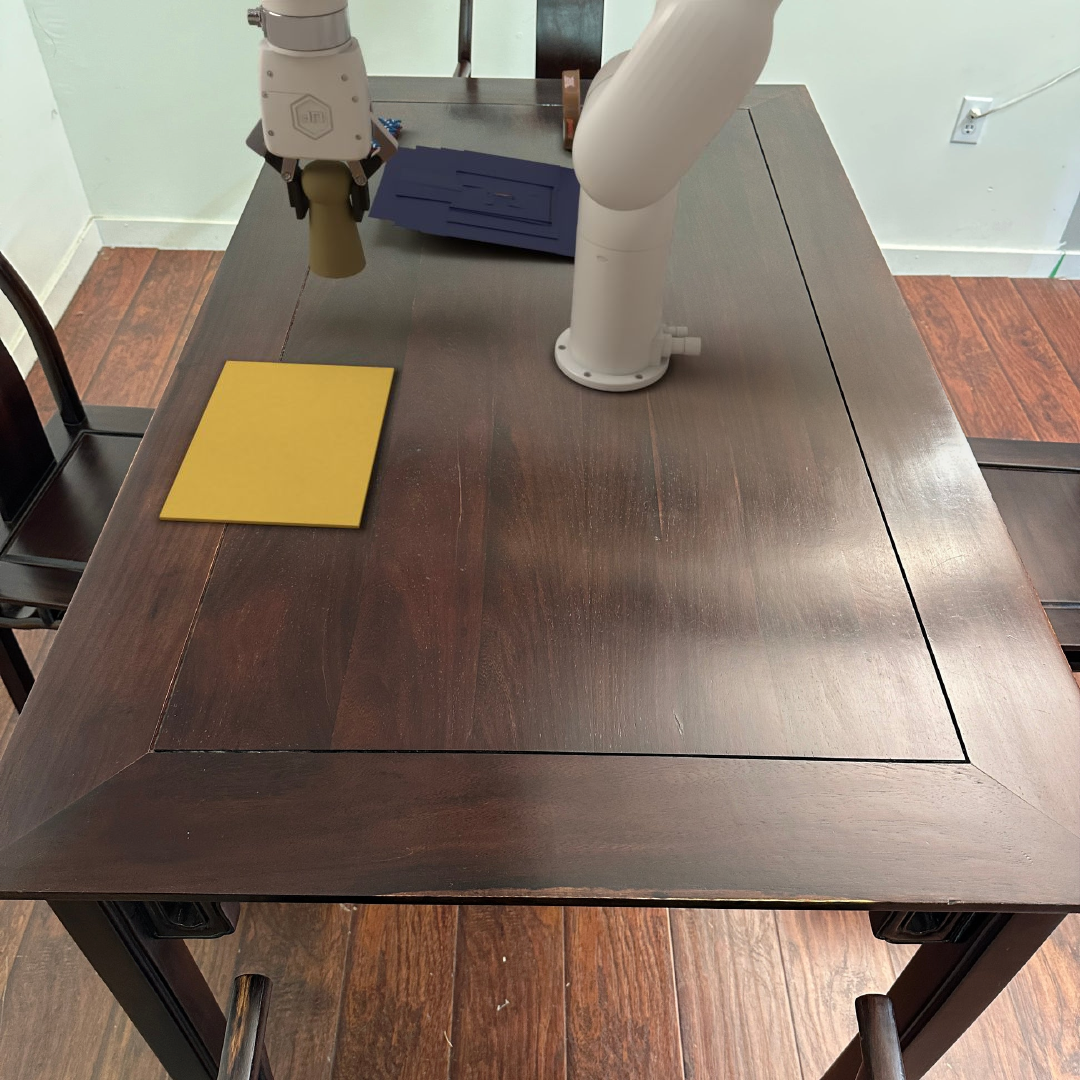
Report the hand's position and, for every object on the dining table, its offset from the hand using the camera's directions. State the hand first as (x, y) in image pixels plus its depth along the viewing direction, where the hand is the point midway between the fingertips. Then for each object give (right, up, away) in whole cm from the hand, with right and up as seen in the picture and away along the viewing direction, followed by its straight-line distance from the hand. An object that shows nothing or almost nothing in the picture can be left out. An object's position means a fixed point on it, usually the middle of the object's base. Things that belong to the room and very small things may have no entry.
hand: (331, 213), depth 100 cm
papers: (+15, +10, +30) cm, 35 cm away
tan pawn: (0, -4, +4) cm, 6 cm away
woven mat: (-5, +25, +43) cm, 50 cm away
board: (-4, -24, -4) cm, 24 cm away
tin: (+26, +27, +47) cm, 60 cm away
